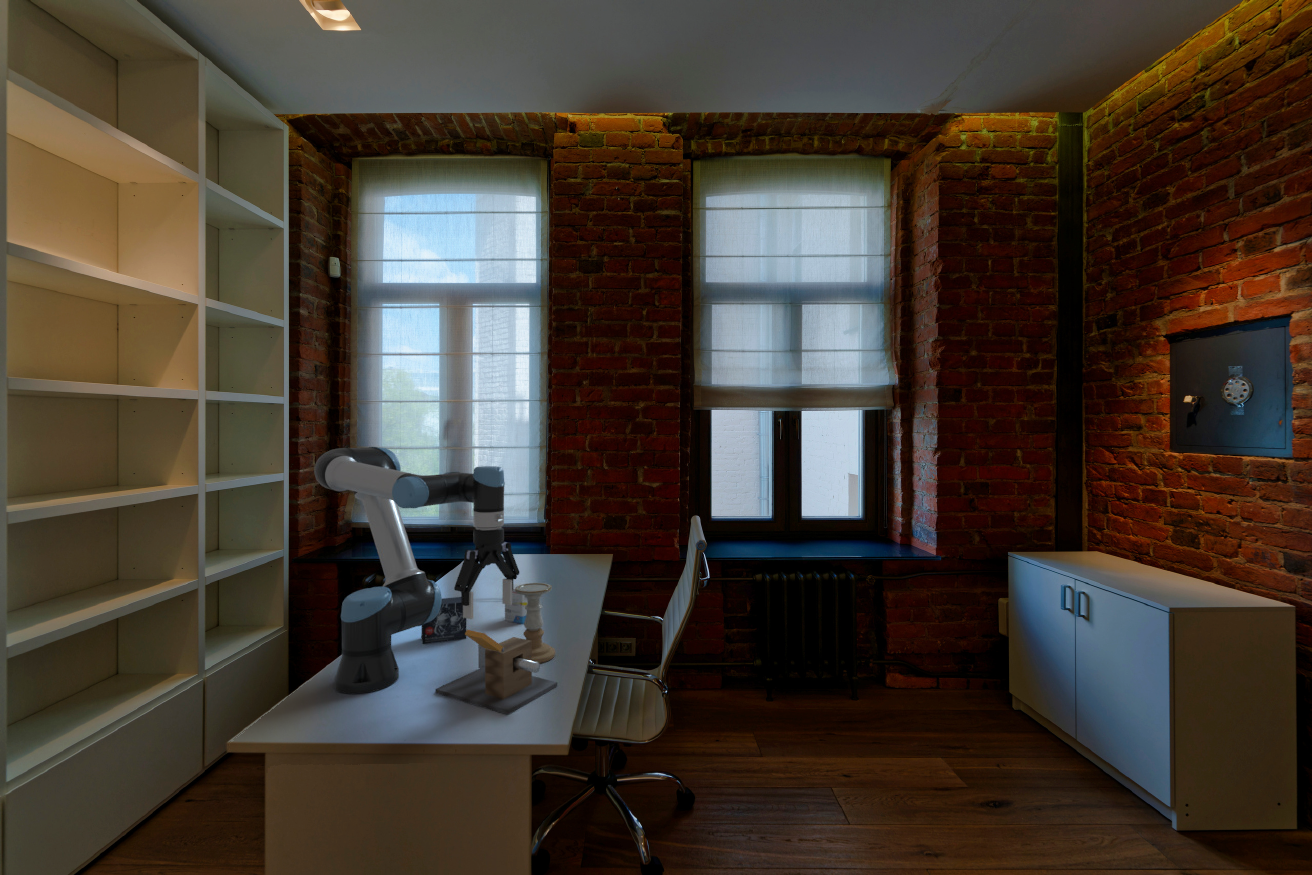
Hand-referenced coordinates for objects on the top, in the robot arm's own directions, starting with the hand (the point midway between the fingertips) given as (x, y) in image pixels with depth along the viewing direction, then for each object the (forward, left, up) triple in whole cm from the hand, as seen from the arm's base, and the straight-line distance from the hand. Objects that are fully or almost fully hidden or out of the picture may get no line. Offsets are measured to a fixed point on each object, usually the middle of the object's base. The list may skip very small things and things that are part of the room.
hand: (488, 610), depth 155 cm
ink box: (-31, +47, -20) cm, 60 cm away
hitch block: (+3, 0, -19) cm, 20 cm away
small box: (-39, +20, -20) cm, 48 cm away
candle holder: (-4, +22, -20) cm, 30 cm away
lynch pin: (+7, 0, -14) cm, 16 cm away
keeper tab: (+7, -8, -5) cm, 12 cm away
